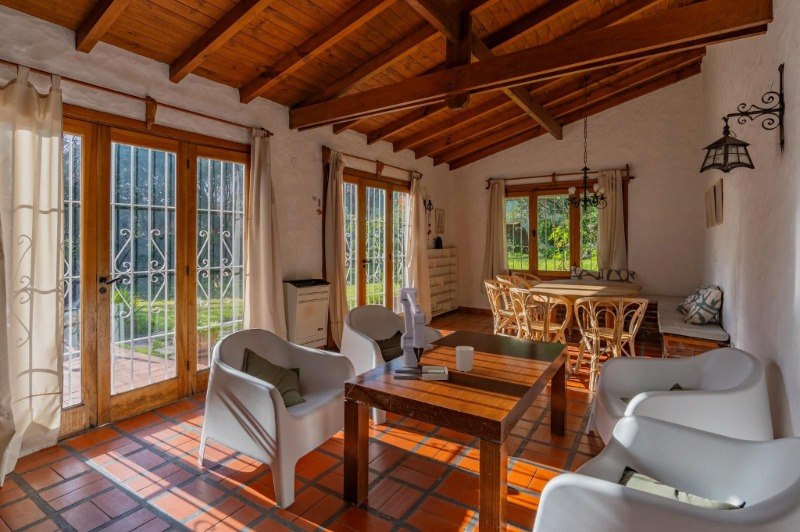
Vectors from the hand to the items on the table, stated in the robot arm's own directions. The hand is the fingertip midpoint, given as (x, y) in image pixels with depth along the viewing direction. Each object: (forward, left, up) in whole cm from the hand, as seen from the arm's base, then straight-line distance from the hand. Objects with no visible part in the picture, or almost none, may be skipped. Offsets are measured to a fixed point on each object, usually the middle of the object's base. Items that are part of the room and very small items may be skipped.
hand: (418, 361), depth 223 cm
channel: (0, -6, -7) cm, 10 cm away
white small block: (0, +7, -8) cm, 10 cm away
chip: (0, +11, -8) cm, 13 cm away
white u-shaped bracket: (0, +9, -7) cm, 11 cm away
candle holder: (-12, +25, -8) cm, 29 cm away
